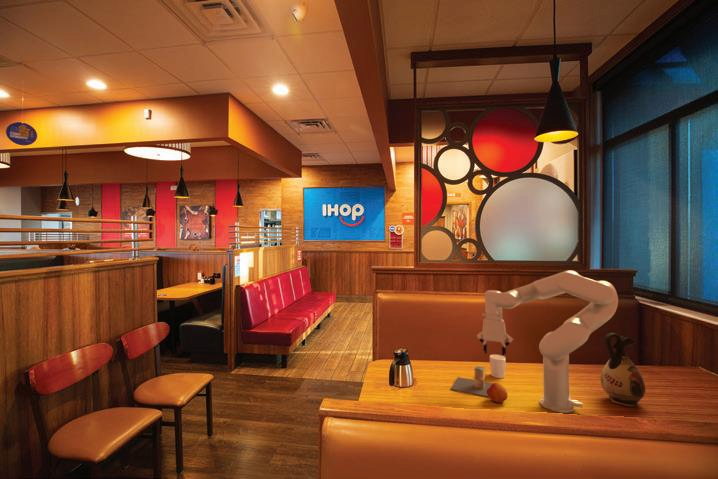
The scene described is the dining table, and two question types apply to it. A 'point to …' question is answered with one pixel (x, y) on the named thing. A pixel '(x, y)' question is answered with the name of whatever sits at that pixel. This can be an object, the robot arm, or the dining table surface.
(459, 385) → the rubber mat
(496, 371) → the white cup
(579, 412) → the dining table surface
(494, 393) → the fruit
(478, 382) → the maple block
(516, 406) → the dining table surface
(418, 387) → the dining table surface
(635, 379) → the ceramic jug
